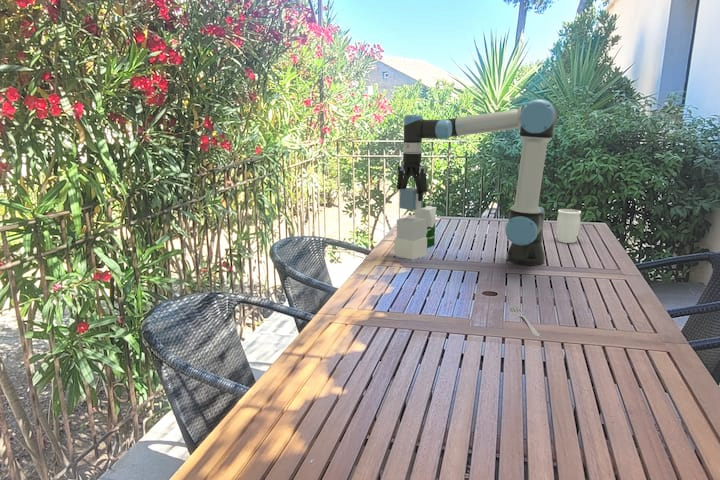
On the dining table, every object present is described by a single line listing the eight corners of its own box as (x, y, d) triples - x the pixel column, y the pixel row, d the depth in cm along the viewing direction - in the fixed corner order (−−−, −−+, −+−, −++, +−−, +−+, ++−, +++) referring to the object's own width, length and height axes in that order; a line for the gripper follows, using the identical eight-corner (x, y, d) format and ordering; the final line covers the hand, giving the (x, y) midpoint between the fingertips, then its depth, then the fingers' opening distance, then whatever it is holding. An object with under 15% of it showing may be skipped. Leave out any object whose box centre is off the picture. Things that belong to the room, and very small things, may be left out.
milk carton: (420, 242, 245) (421, 200, 240) (437, 244, 240) (438, 202, 235) (411, 245, 238) (412, 203, 233) (428, 248, 233) (429, 205, 228)
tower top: (425, 237, 220) (426, 219, 218) (413, 241, 214) (413, 222, 212) (409, 234, 226) (409, 216, 224) (396, 237, 220) (396, 219, 218)
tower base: (426, 255, 222) (427, 237, 220) (412, 260, 215) (412, 241, 213) (408, 251, 229) (409, 233, 227) (394, 255, 222) (394, 237, 220)
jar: (581, 244, 240) (585, 212, 236) (559, 244, 240) (562, 212, 237) (573, 238, 250) (576, 208, 247) (551, 238, 251) (554, 208, 247)
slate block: (422, 208, 217) (423, 189, 215) (412, 210, 213) (412, 191, 211) (409, 205, 222) (410, 187, 220) (399, 208, 217) (399, 189, 215)
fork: (535, 341, 139) (536, 335, 139) (508, 308, 163) (508, 303, 162) (547, 341, 139) (548, 335, 139) (518, 308, 163) (518, 303, 162)
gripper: (388, 152, 216) (387, 205, 221) (426, 154, 202) (424, 211, 208) (399, 151, 221) (398, 203, 227) (437, 153, 208) (435, 209, 213)
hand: (411, 207), depth 217 cm, fingers closed on slate block, 7 cm apart
